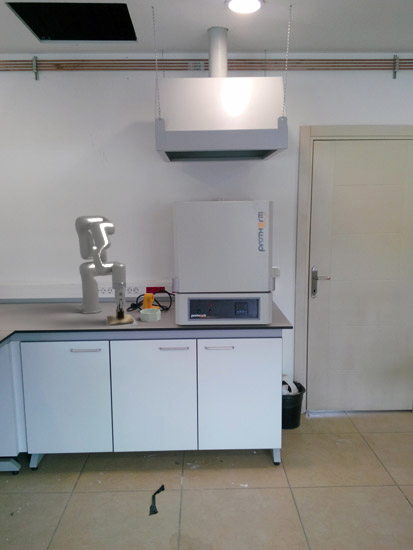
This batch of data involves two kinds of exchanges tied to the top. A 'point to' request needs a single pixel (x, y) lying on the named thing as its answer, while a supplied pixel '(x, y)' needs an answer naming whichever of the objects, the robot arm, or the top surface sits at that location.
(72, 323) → the top surface
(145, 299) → the bracket
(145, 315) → the bowl
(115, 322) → the lid
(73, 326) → the top surface
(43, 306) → the top surface
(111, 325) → the mat
